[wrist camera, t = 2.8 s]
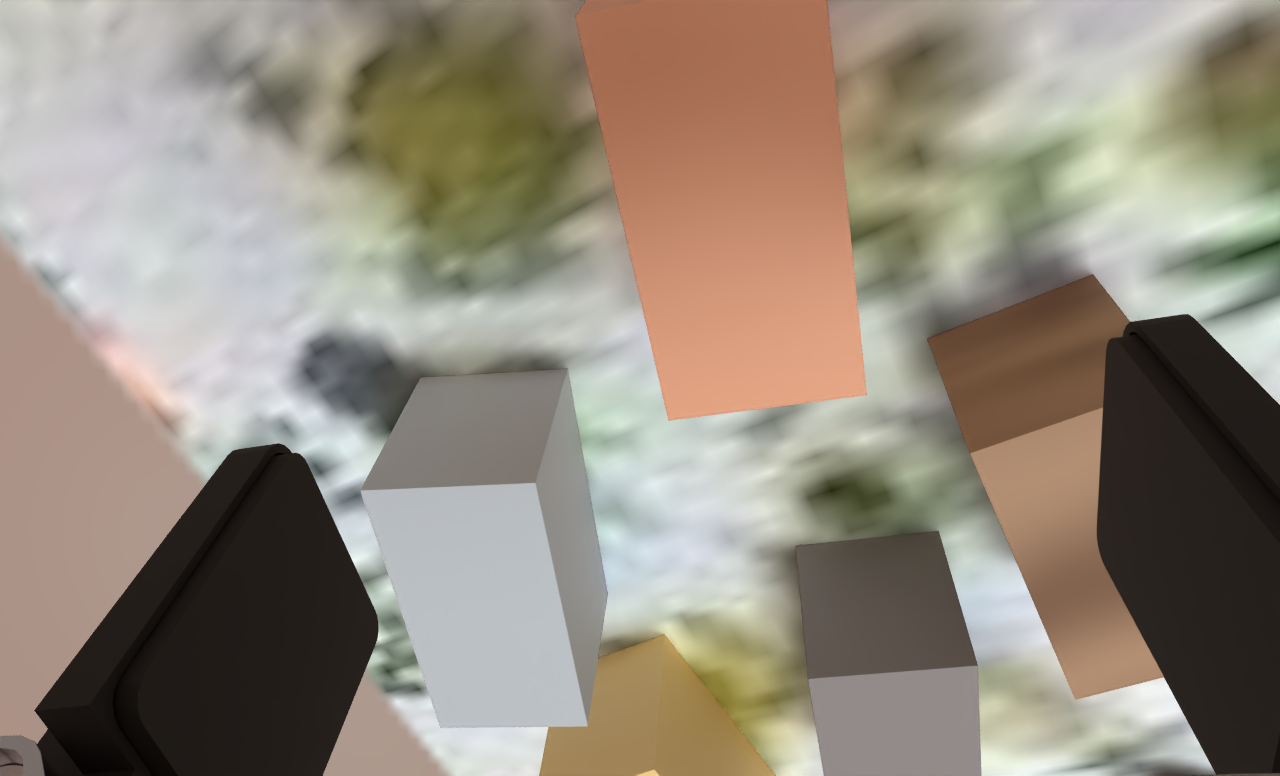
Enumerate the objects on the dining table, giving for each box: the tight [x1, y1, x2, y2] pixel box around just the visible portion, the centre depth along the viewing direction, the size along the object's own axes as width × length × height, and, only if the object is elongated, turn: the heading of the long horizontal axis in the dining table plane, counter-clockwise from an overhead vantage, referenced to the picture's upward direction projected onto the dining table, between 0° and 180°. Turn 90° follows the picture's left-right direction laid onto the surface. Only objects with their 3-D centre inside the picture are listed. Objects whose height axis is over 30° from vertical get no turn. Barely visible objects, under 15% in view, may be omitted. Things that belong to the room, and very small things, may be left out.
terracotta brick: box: [575, 0, 867, 421], centre depth 19 cm, size 8×4×5 cm, turn 12°
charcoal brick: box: [796, 531, 981, 776], centre depth 27 cm, size 8×4×5 cm, turn 12°
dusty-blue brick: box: [360, 369, 608, 728], centre depth 25 cm, size 8×4×5 cm, turn 6°
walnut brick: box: [927, 275, 1164, 700], centre depth 22 cm, size 8×4×5 cm, turn 28°
